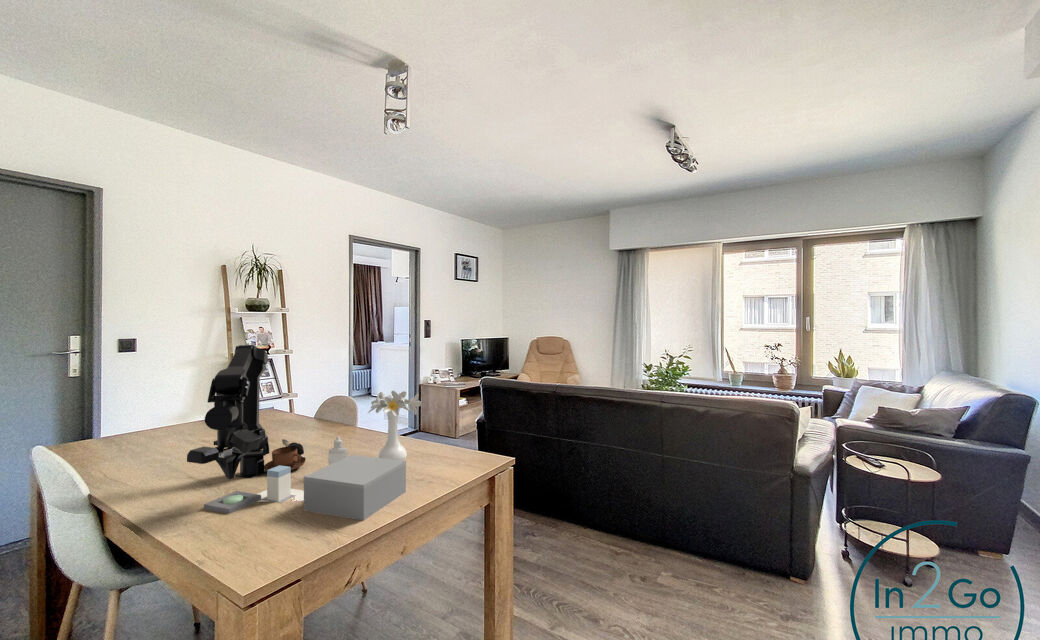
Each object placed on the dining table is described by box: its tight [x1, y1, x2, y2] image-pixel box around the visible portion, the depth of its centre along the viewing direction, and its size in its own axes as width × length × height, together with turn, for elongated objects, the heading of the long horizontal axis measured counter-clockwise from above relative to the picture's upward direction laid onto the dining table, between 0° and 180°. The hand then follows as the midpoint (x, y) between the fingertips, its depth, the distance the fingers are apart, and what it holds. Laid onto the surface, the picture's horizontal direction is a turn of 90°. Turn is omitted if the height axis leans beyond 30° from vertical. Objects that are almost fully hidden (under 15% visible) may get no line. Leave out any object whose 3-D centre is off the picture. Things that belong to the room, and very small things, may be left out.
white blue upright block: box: [266, 465, 292, 501], centre depth 117 cm, size 4×4×8 cm
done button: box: [223, 495, 243, 505], centre depth 113 cm, size 4×4×2 cm
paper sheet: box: [256, 488, 304, 504], centre depth 117 cm, size 16×12×1 cm
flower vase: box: [367, 390, 423, 461], centre depth 145 cm, size 13×18×25 cm
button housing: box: [203, 490, 261, 515], centre depth 113 cm, size 9×9×2 cm
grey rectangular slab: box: [303, 454, 407, 521], centre depth 115 cm, size 18×18×9 cm
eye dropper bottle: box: [327, 435, 349, 466], centre depth 137 cm, size 4×6×12 cm
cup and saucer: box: [264, 446, 307, 471], centre depth 140 cm, size 12×12×6 cm
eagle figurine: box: [281, 438, 307, 459], centre depth 145 cm, size 8×7×9 cm
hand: (230, 479), depth 113 cm, fingers closed
